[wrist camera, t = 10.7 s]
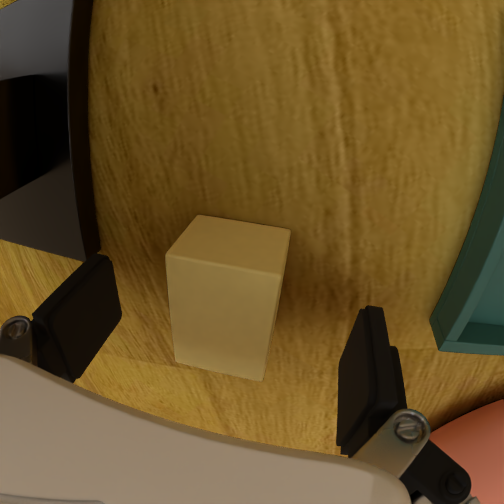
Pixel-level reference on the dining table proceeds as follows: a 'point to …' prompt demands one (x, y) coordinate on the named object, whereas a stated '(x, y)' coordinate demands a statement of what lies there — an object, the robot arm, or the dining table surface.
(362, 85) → the dining table surface
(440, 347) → the tray
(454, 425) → the teapot
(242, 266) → the butter
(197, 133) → the dining table surface
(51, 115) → the black lever stand
